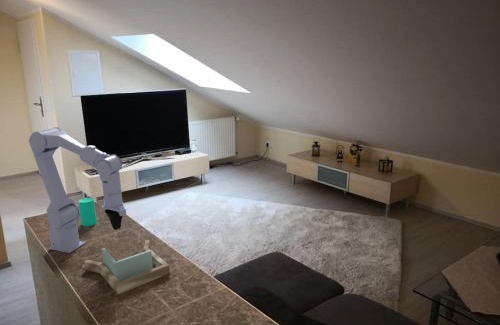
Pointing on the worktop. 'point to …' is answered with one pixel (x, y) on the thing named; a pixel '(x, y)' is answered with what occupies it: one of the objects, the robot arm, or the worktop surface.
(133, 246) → the worktop surface
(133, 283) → the pocket
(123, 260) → the l-shaped corner panel
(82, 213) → the candle
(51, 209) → the robot arm
